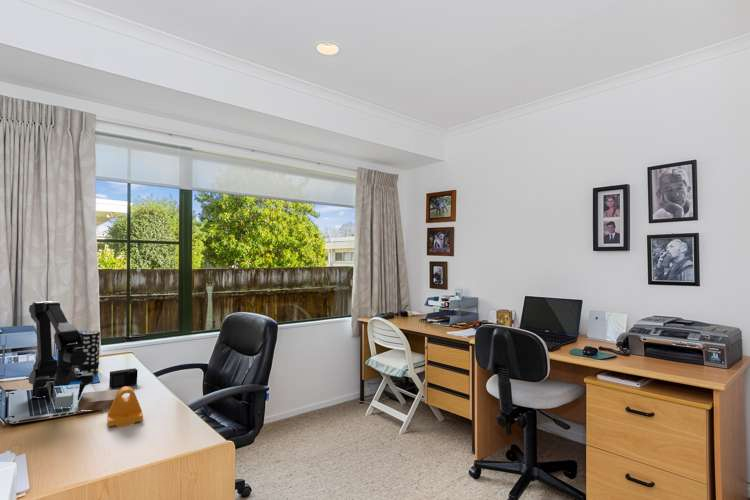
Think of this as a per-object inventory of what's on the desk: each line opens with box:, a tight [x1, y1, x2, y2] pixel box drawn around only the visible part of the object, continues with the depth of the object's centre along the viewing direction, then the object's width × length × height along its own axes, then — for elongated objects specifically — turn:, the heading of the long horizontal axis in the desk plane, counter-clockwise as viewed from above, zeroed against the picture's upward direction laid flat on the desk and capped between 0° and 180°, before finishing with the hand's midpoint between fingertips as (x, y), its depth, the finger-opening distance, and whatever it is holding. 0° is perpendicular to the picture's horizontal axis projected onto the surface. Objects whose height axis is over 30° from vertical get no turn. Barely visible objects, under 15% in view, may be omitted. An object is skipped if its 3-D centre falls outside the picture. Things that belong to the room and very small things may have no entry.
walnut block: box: [77, 388, 121, 412], centre depth 169 cm, size 13×13×4 cm
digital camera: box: [108, 367, 138, 390], centre depth 193 cm, size 10×5×7 cm, turn 133°
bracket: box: [106, 386, 144, 428], centre depth 154 cm, size 11×7×12 cm, turn 124°
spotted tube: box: [77, 330, 101, 374], centre depth 211 cm, size 8×8×20 cm
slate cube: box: [54, 391, 74, 409], centre depth 166 cm, size 5×5×5 cm
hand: (64, 401), depth 166 cm, fingers open, 9 cm apart
